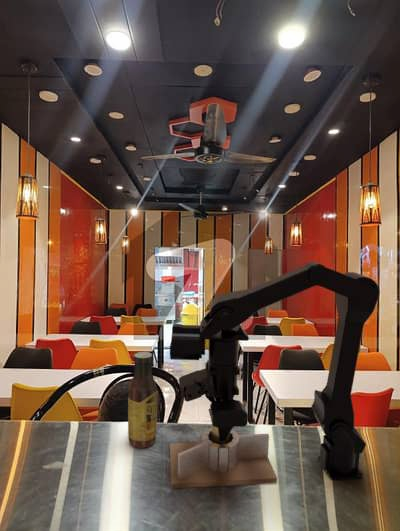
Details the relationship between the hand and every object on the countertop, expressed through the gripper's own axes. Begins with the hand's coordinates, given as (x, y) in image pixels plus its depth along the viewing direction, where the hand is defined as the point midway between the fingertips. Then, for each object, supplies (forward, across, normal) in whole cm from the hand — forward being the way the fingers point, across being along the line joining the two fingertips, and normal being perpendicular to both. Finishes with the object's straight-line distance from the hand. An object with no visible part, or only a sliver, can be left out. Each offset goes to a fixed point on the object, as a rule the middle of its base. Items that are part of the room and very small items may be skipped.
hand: (220, 434), depth 73 cm
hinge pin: (+2, 0, 0) cm, 2 cm away
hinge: (+5, +1, 0) cm, 6 cm away
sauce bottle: (+7, -9, -16) cm, 20 cm away
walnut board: (+6, 0, 0) cm, 7 cm away
